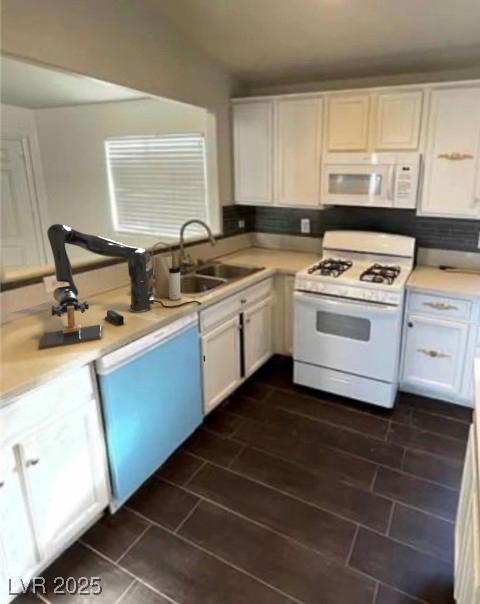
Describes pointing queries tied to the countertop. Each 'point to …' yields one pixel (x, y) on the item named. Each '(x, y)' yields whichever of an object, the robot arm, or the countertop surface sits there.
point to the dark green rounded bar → (115, 317)
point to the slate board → (70, 337)
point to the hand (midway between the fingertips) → (71, 312)
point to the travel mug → (174, 283)
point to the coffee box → (150, 279)
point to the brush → (71, 324)
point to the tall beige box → (162, 274)
